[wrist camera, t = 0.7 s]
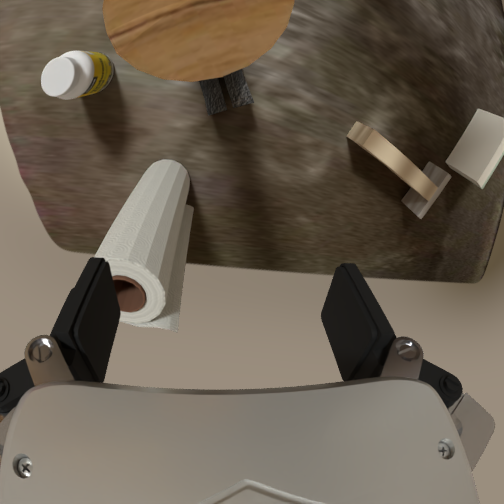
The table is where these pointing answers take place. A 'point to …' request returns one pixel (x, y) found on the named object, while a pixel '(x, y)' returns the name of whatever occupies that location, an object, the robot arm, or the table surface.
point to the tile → (479, 148)
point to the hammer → (197, 40)
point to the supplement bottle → (77, 74)
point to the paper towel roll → (151, 247)
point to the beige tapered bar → (403, 169)
